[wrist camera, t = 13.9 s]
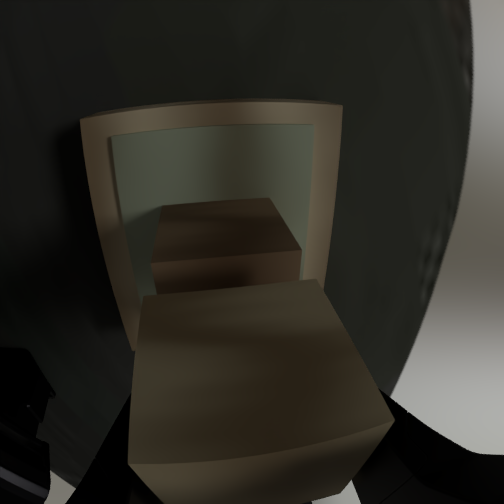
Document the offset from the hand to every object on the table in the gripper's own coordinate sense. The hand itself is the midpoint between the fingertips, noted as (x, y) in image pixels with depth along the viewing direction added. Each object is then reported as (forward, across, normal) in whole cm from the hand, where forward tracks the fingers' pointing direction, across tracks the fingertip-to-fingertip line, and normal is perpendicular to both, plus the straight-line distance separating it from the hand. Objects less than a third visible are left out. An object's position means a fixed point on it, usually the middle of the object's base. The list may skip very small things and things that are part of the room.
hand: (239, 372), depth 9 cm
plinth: (+11, 0, 0) cm, 11 cm away
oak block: (+1, 0, 0) cm, 1 cm away
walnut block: (+8, 0, 0) cm, 8 cm away
